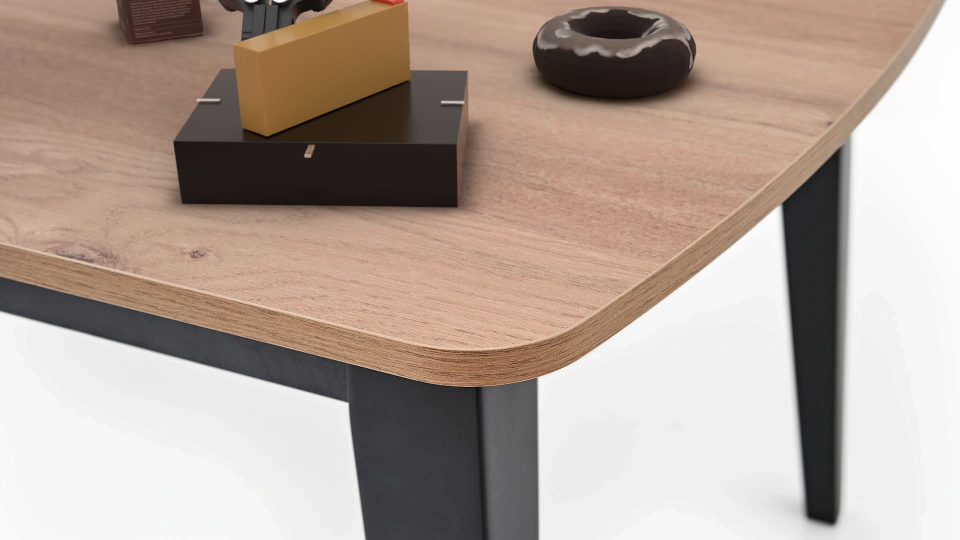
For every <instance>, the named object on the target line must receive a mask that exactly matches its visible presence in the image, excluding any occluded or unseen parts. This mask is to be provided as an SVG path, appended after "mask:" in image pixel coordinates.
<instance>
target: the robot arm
mask: <svg viewBox="0 0 960 540" xmlns="http://www.w3.org/2000/svg"><path fill="white" fill-rule="evenodd" d="M217 1H218V3H219V4H220V5H221V6H222V8H223V9H224V10H225V11H226V12H229V13H234V12H240V13H242V23H241V36H240V42H241V41H244V40H247V39H250V38H253V37H256V36H259V35H263V34H266V33H269V32H272V31H275V30H278V29H281V28H284V27H287V26H290V25H293V24H296V23H297V20H298V17H300V16H301V15H302V14H304V13H307V12H310V11H312V12H314V13H321V12H323V11H324V10H326V9H327V7H329V5H331V3H332V2H333V1H334V0H217Z"/></svg>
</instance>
